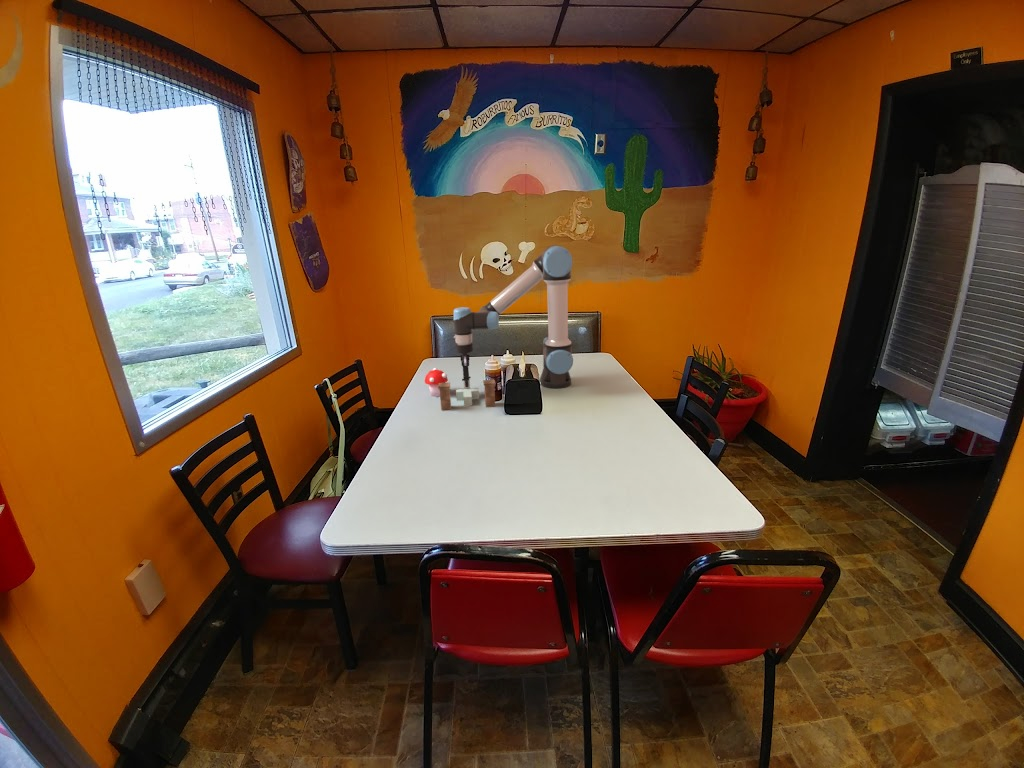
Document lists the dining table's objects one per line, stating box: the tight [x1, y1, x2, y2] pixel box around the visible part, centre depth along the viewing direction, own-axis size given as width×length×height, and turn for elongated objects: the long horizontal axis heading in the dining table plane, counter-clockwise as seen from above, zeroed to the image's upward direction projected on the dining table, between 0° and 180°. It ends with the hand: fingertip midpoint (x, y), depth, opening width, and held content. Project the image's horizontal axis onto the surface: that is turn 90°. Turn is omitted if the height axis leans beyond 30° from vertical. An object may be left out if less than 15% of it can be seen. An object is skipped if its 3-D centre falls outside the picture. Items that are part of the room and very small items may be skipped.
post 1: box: [438, 381, 452, 411], centre depth 190 cm, size 5×5×11 cm
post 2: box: [482, 379, 496, 408], centre depth 192 cm, size 5×5×11 cm
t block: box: [455, 387, 480, 407], centre depth 198 cm, size 10×10×4 cm
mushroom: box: [424, 367, 449, 398], centre depth 206 cm, size 11×11×12 cm
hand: (467, 392), depth 204 cm, fingers closed
